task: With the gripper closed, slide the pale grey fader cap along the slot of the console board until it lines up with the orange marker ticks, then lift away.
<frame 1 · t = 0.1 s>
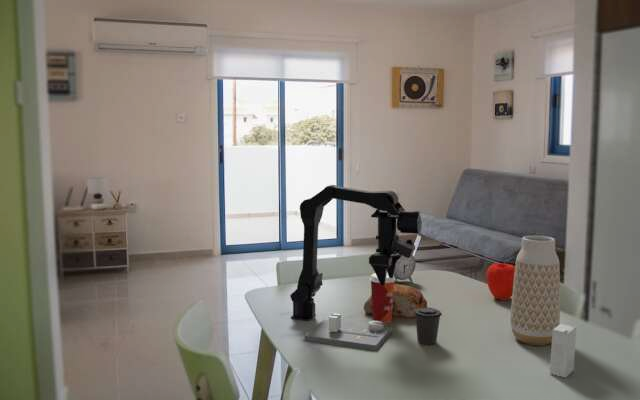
hand: (387, 281, 191), 15 cm above the table, fingers open, 9 cm apart
alarm clock: (399, 282, 249), on the table
coffee cup 2: (426, 343, 180), on the table
fader: (334, 322, 185), point 4 cm above the table, slide at 0.0 cm
console: (348, 336, 185), on the table
bread: (397, 310, 212), on the table
vase: (533, 340, 183), on the table
skincare box: (561, 373, 158), on the table
coffee cup: (382, 320, 201), on the table, touching gripper
apple: (502, 299, 225), on the table
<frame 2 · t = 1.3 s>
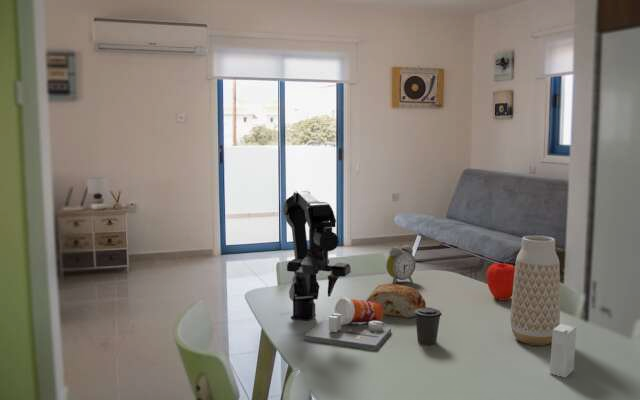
hand: (318, 295, 186), 12 cm above the table, fingers open, 7 cm apart
coffee cup: (377, 312, 199), point 3 cm above the table, touching console
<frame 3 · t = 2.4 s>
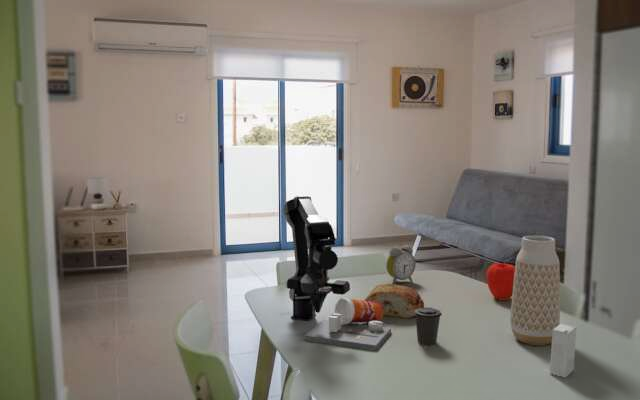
hand: (317, 312, 187), 7 cm above the table, fingers closed
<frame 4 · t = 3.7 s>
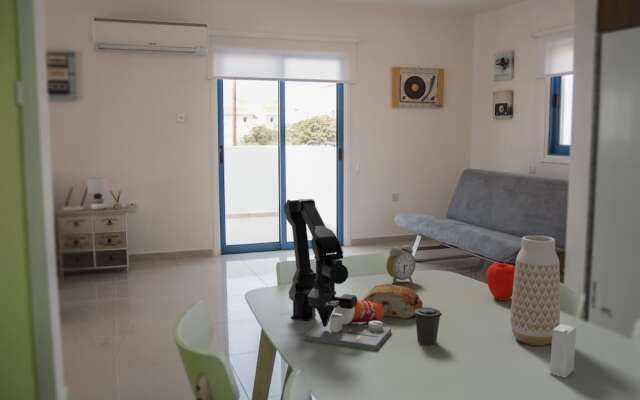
hand: (325, 326, 187), 3 cm above the table, fingers closed
fader: (336, 322, 185), point 4 cm above the table, slide at 0.4 cm, touching gripper
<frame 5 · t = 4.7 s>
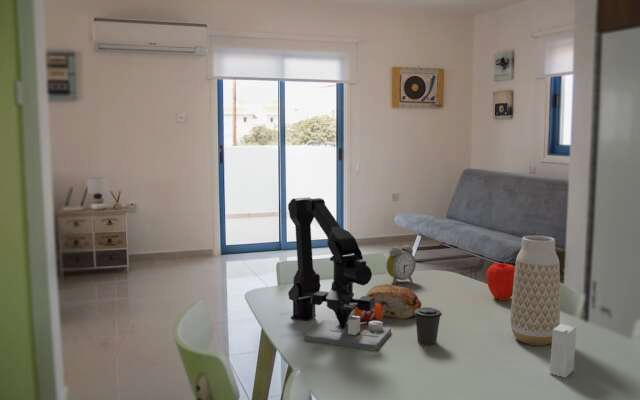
hand: (342, 328, 184), 3 cm above the table, fingers closed
fader: (354, 324, 183), point 4 cm above the table, slide at 6.1 cm, touching gripper
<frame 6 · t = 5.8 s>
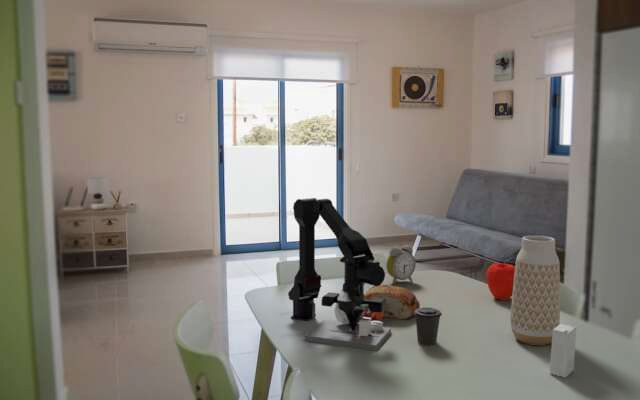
hand: (353, 330, 183), 3 cm above the table, fingers closed
fader: (365, 326, 182), point 4 cm above the table, slide at 9.5 cm, touching gripper
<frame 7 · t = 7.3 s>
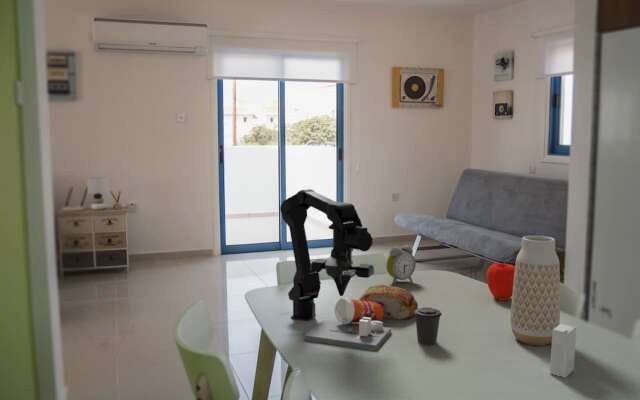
hand: (341, 295, 187), 12 cm above the table, fingers closed
fader: (365, 326, 182), point 4 cm above the table, slide at 9.5 cm
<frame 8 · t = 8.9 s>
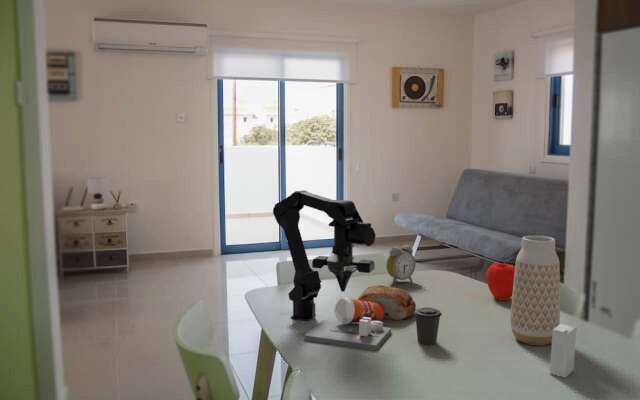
hand: (343, 291, 191), 12 cm above the table, fingers closed
at the end: fader slide at 9.5 cm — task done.
